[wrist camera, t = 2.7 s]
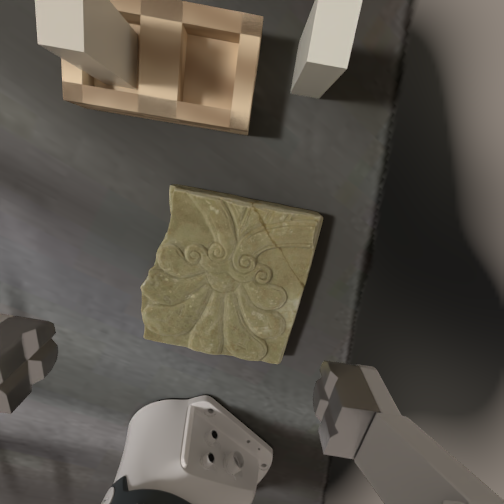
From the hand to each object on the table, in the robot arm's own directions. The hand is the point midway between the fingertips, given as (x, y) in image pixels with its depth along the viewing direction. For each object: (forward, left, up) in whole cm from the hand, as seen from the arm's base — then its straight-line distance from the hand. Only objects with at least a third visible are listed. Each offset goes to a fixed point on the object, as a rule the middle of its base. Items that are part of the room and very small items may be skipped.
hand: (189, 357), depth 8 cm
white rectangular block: (+3, -17, -24) cm, 29 cm away
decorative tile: (-3, +6, -25) cm, 26 cm away
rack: (+14, -8, -24) cm, 29 cm away
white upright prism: (+18, -6, -23) cm, 29 cm away
